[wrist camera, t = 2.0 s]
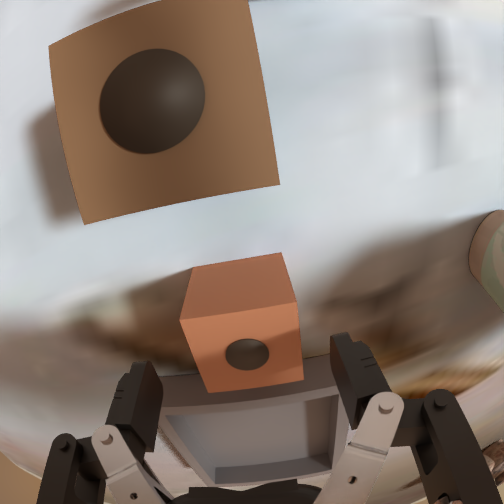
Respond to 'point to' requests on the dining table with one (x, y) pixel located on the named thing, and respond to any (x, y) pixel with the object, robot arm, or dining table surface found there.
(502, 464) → the pottery
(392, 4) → the dining table surface
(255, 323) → the block
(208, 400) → the tray
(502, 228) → the coffee cup
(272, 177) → the block
